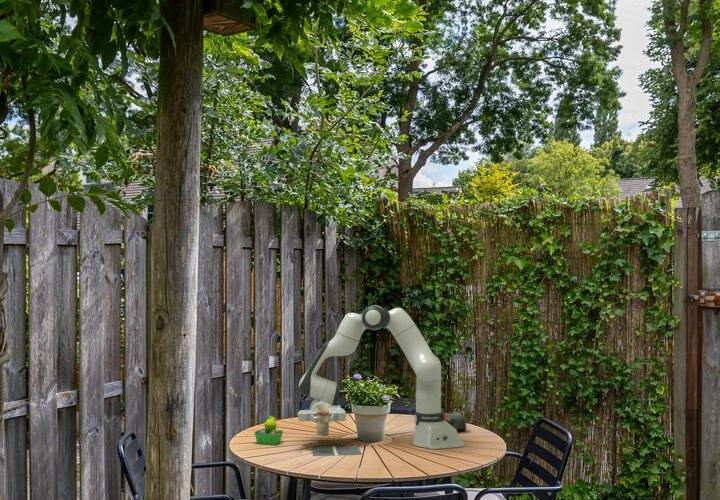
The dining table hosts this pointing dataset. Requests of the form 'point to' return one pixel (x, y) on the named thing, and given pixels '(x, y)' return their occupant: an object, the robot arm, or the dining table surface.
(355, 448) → the lane mat
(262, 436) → the fruit basket
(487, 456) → the dining table surface
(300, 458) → the dining table surface
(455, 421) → the rock
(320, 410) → the skittle
